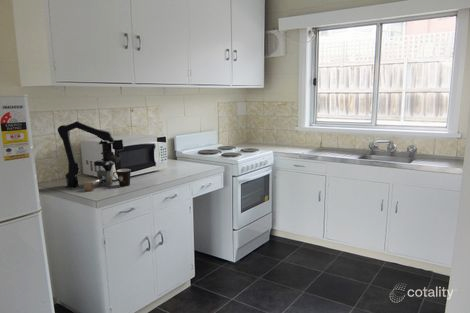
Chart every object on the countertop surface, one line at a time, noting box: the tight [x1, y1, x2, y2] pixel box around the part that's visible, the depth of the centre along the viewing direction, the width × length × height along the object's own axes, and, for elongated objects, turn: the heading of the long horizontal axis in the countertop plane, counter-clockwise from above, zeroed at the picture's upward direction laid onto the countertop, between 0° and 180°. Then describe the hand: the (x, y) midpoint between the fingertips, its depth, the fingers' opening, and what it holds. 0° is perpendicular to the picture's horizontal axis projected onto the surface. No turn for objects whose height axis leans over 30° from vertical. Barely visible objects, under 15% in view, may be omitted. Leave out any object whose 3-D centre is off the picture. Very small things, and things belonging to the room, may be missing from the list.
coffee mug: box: [112, 168, 132, 188], centre depth 235 cm, size 12×9×10 cm
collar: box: [96, 169, 112, 187], centre depth 234 cm, size 3×8×9 cm, turn 68°
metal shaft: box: [83, 175, 113, 192], centre depth 230 cm, size 19×5×5 cm, turn 158°
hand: (108, 174), depth 238 cm, fingers closed
